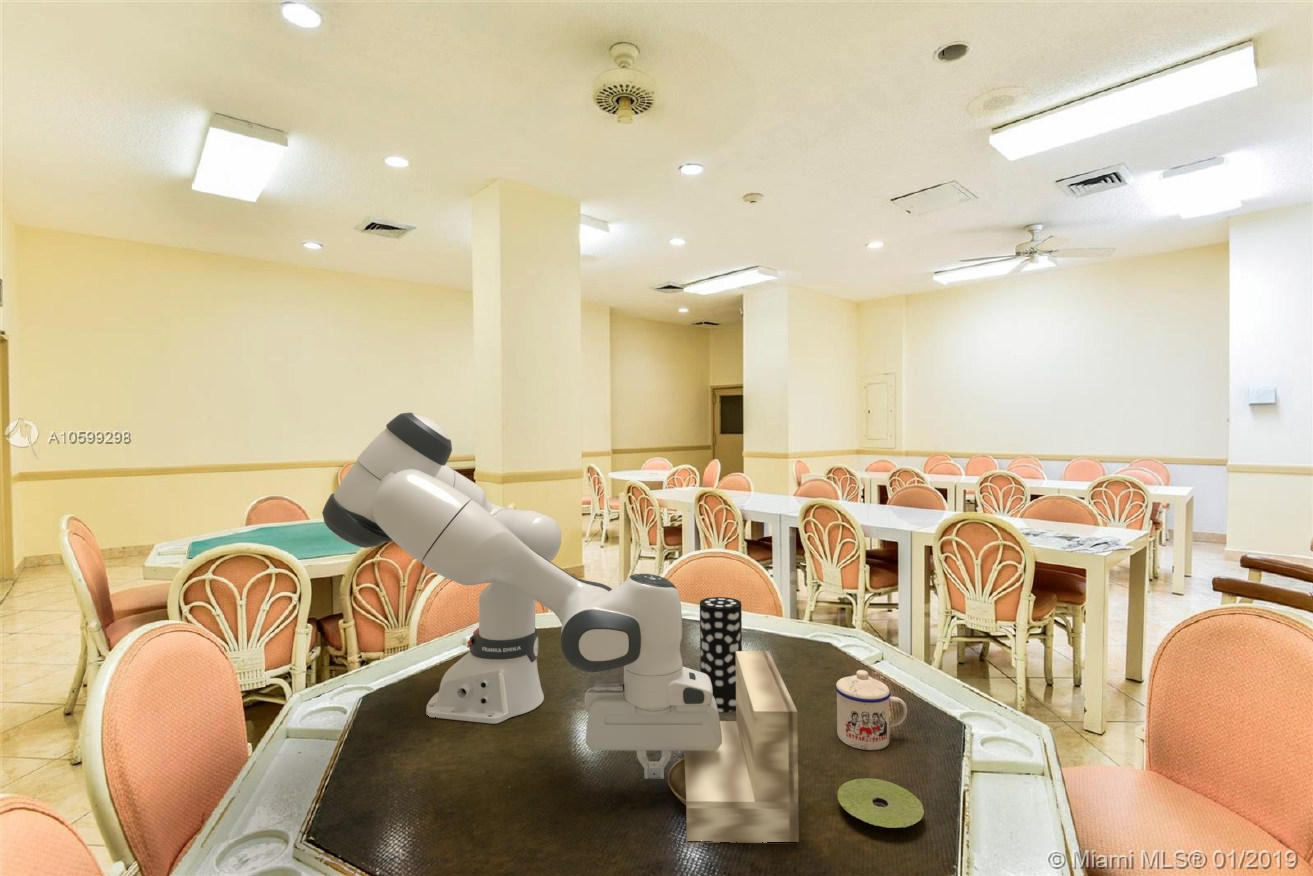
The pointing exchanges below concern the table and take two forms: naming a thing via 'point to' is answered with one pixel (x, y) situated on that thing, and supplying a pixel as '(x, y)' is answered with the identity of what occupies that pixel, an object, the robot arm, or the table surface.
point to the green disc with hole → (880, 803)
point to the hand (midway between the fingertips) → (654, 776)
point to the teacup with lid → (865, 711)
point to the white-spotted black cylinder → (721, 647)
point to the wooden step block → (748, 764)
